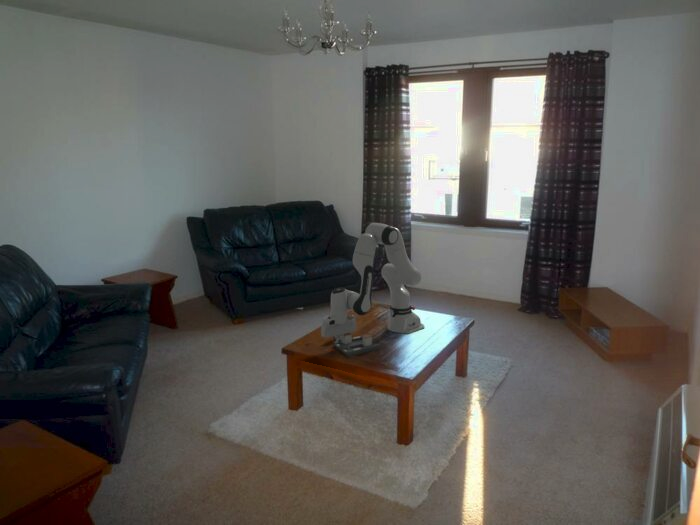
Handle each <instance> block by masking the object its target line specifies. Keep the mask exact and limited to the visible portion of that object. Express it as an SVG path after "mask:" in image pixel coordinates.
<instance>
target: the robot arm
mask: <svg viewBox="0 0 700 525" xmlns="http://www.w3.org/2000/svg"><path fill="white" fill-rule="evenodd" d="M378 245H384V251H385V254H386V259H387V261H388V263H385V264H384V265H383V266H382V267H381V271H380V272H381V273H380V275H381V277H382V279H384V281H385V282H386V284H387V287H388V288H389V292H390V305H389V320H388V326H387V329H388V331H390V332H393V333H398V334H401V333H402V334H412V333H414V332H416V331H419V330H420V331H421V330H423V329H425V328H426V327H425V325H424V323H422V321H421V317H420V316H419V315H417V314H416V313H415V312H413V311H415V310H416V306H413V305H410V303H411V302H410V300H411V298H410V297H411V294H410V292H409V290H408V289H407V288H406V287H405V286H408V287H413V286H414V287H415V286H417V285H420V282H421V280H422V273H421V271H420V270H419V269H418V268H416V267H415V265H414V264H413V263H412V261H411V260H410V258H409V256H408V254H407V250H406V247H405V241H404V238H403V235H402V233H401V231H400V229H399V228H397V227H394V226H393V225H388V224H385V223H383V222H381V223H380V222H374V221H370V222H369V221H368V222H366V223H365V224H364V225H363V228H362V230H361V234H360V236H359V237H358V239H357V241H356V244H355V247H354V249H353V250H354V251H353V255H352V265H353V267H354V268H355V269H356V271H357V272H358V273H359V275H360V278H361V279H360V280H361V282H360V283H361V284H360V290H359V293H358V292H356V291H352V290H349V289H346V287H336V288H334V289H333V290H332V291H331V294H330V307H331V309H330V314H328V315H326V316H324V317H323V318H322V319H321V322H322V324H321V328H320V335H321V337H323V338H324V339H327V338H332V337H333V336H334V337H335V339H336V342H337V343H339V342H342V339H343V337H344V334H347V333H351V334H352V333H355V332H356V331H357V322H356V321H357V317H356V316H355V315H348V311H352V312H354V313H355V314H357V315H359V316H365V315H367V314H368V313H369V312H370V311H371V308H372V305H373V303H372V294H373V285H374V276H375V271H374V260H375V259H374V258H375V254H376V248H377V246H378ZM338 335H341V336H340V338H339V339H338V338H337V337H338Z"/></svg>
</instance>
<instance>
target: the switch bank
mask: <svg viewBox="0 0 700 525" xmlns="http://www.w3.org/2000/svg"><path fill="white" fill-rule="evenodd" d="M362 336H363V335H360V336H354V337H352V343H348V344H344V343H342V342H339V343H337V342H336V341H333V347H334V348H336V349H338V350H339V351H340V352H341V353H342V354H344V355H345V356H347V357H352V356H357V355H361V354H367V353H370V352H374V351H379V350H381V347H382V346H381V344H380V343H376V341H375V340H374V339H372V345H370V346H365V347H364V346H363V337H362Z"/></svg>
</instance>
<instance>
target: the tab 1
mask: <svg viewBox="0 0 700 525" xmlns="http://www.w3.org/2000/svg"><path fill="white" fill-rule="evenodd" d="M352 338H353V337H352V333H347V334H344V337H343V339H342V343H344V344H348V343H352Z"/></svg>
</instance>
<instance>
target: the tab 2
mask: <svg viewBox="0 0 700 525" xmlns="http://www.w3.org/2000/svg"><path fill="white" fill-rule="evenodd" d="M361 336H362V337H363V346H364V347H365V346H370V345H372V340H373V336H372V335H371V334H363V335H361Z"/></svg>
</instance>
